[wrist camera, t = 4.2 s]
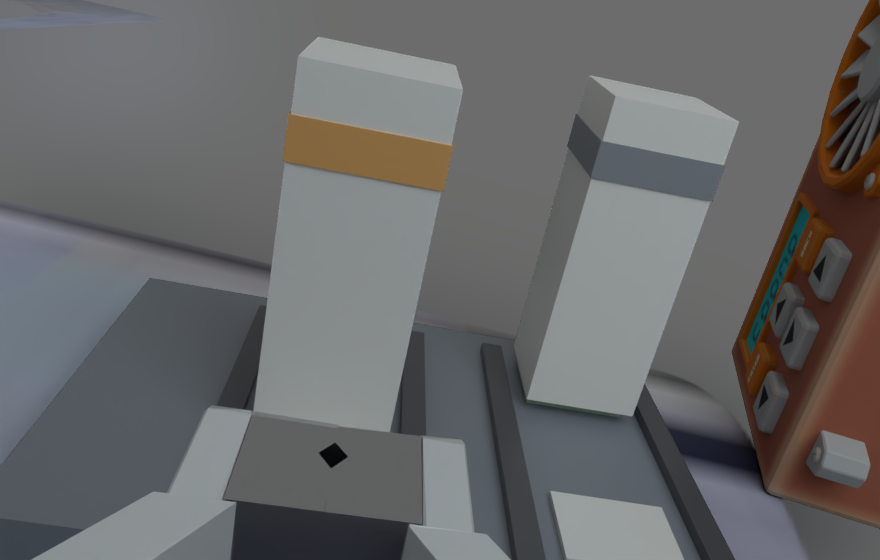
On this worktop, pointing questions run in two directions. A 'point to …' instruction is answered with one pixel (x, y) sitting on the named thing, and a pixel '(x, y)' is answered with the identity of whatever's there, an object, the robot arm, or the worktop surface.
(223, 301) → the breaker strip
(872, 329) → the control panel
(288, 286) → the breaker toggle
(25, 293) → the worktop surface
